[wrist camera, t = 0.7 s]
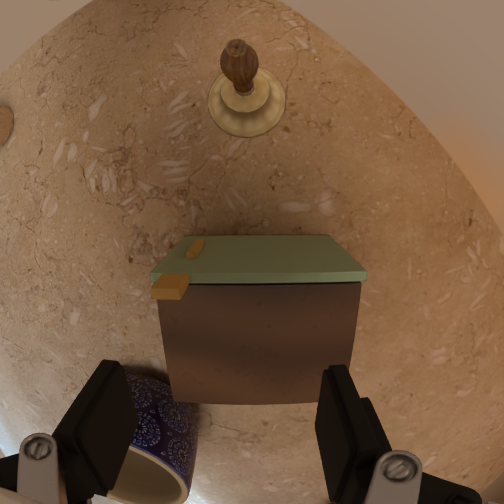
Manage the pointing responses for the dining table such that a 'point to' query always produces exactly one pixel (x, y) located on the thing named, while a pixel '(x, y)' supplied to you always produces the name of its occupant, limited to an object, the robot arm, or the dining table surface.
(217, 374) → the cupboard
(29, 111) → the dining table surface
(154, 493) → the planter
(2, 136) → the beer glass
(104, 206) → the dining table surface
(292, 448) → the dining table surface
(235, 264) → the sliding door
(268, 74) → the hand bell
